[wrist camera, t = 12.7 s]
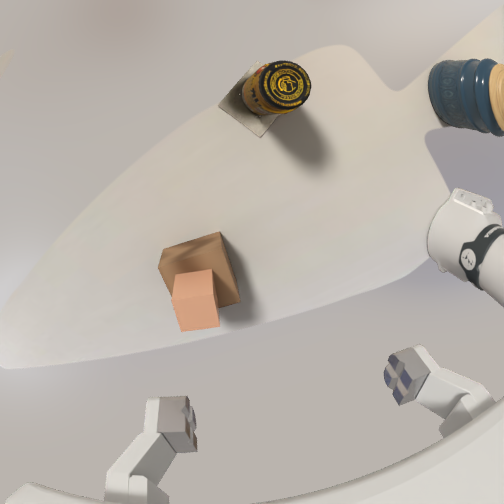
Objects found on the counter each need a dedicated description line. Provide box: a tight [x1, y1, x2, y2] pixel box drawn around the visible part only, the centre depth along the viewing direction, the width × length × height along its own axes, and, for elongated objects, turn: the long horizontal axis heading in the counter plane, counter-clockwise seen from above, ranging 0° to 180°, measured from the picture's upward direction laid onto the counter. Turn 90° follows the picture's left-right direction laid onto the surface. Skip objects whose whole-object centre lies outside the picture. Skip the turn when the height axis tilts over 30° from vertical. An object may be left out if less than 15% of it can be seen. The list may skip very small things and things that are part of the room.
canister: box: [428, 59, 504, 137], centre depth 28 cm, size 13×13×18 cm
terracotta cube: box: [172, 269, 220, 332], centre depth 36 cm, size 5×5×6 cm
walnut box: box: [158, 232, 240, 308], centre depth 42 cm, size 9×9×6 cm
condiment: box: [218, 61, 311, 137], centre depth 29 cm, size 7×8×12 cm
